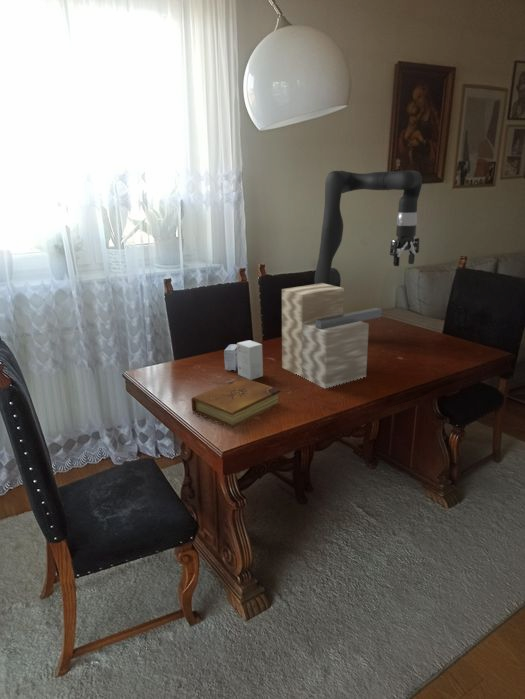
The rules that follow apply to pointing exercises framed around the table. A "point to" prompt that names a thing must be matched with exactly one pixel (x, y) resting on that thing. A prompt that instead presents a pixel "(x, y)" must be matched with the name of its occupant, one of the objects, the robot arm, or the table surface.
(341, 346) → the stand
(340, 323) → the bar
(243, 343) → the small box
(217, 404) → the diary
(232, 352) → the medicine box
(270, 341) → the table surface
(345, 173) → the robot arm
